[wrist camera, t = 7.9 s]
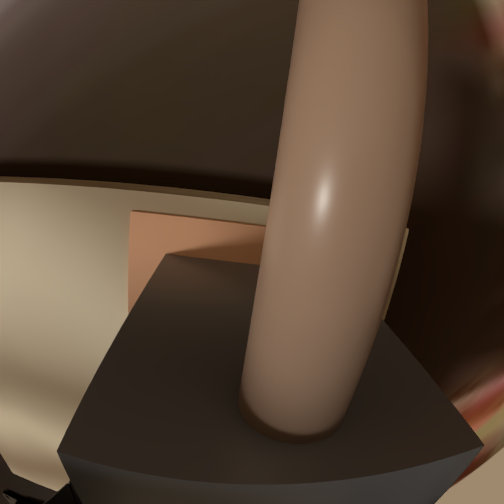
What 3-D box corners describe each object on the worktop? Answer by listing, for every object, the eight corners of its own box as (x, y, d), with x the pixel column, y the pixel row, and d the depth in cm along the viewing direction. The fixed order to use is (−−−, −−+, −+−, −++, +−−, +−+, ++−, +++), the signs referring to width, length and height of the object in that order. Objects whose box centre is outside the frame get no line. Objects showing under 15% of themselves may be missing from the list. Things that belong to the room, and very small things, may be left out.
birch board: (286, 503, 14) (290, 524, 12) (21, 456, 12) (12, 473, 11) (385, 218, 10) (410, 229, 8) (-48, 176, 8) (-74, 181, 6)
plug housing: (277, 477, 11) (298, 602, 5) (166, 470, 10) (150, 599, 4) (373, 84, 7) (575, 19, 1) (192, 50, 6) (123, -141, 1)
